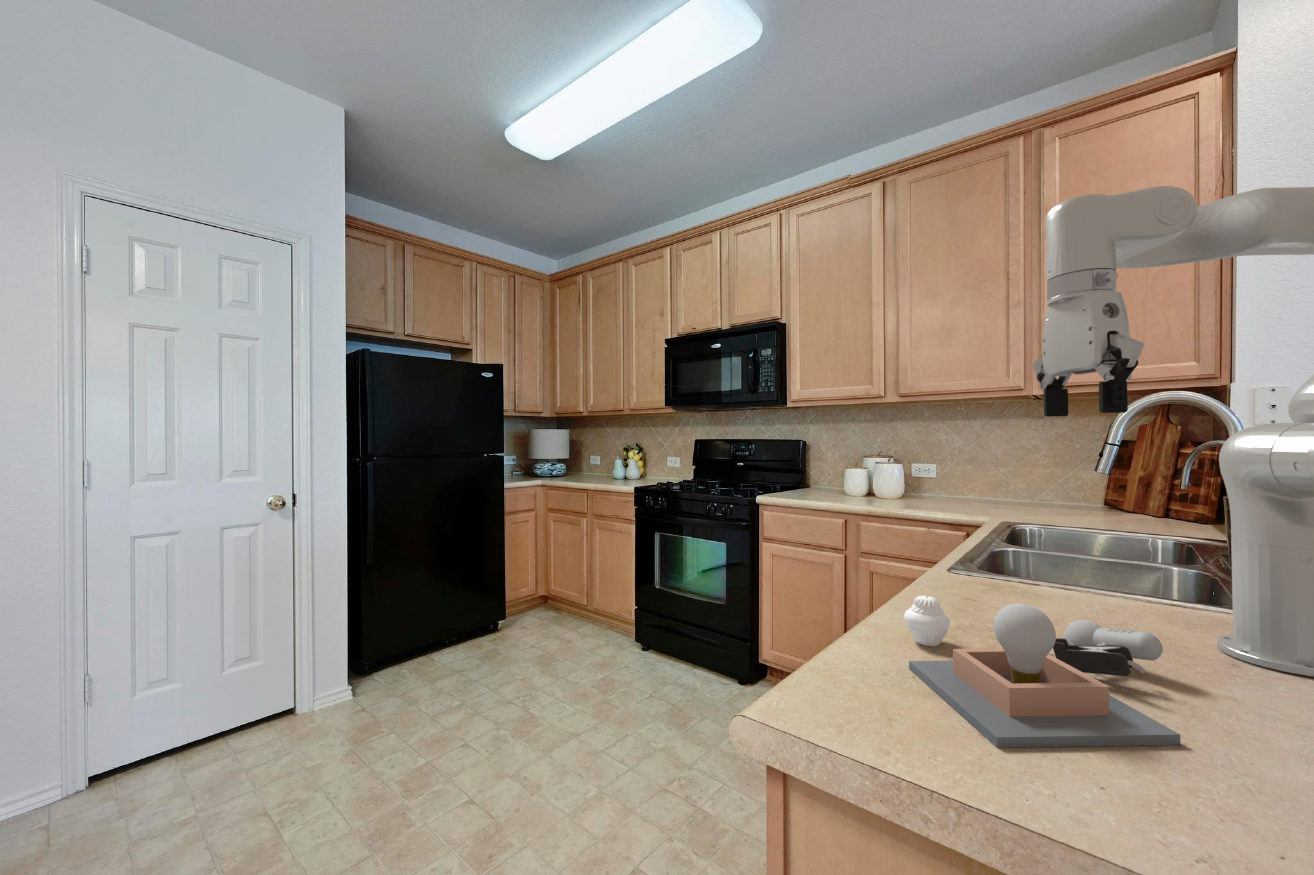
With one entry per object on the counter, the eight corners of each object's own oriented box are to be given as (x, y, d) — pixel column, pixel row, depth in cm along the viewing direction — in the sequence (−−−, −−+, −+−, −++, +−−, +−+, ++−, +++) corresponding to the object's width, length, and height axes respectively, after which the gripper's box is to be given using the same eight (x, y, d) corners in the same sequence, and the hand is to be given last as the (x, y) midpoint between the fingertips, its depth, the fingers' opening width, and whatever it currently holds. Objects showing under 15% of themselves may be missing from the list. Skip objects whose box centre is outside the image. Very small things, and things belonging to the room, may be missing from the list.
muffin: (960, 646, 77) (959, 598, 77) (930, 653, 75) (929, 603, 75) (924, 632, 83) (923, 587, 83) (895, 638, 81) (894, 592, 81)
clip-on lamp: (983, 667, 77) (1130, 692, 61) (970, 622, 78) (1111, 635, 62) (1032, 646, 82) (1180, 663, 66) (1019, 603, 83) (1162, 610, 67)
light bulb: (1060, 709, 57) (1057, 615, 57) (995, 696, 60) (992, 607, 60) (1054, 687, 62) (1052, 601, 62) (994, 676, 65) (992, 594, 65)
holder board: (1045, 666, 70) (1044, 636, 70) (1180, 744, 52) (1179, 703, 52) (909, 668, 70) (908, 638, 70) (997, 747, 52) (996, 706, 52)
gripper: (1168, 270, 65) (1170, 410, 65) (1060, 306, 82) (1062, 417, 82) (1106, 271, 65) (1109, 411, 65) (1011, 306, 82) (1013, 417, 82)
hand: (1082, 414), depth 73 cm, fingers open, 9 cm apart
